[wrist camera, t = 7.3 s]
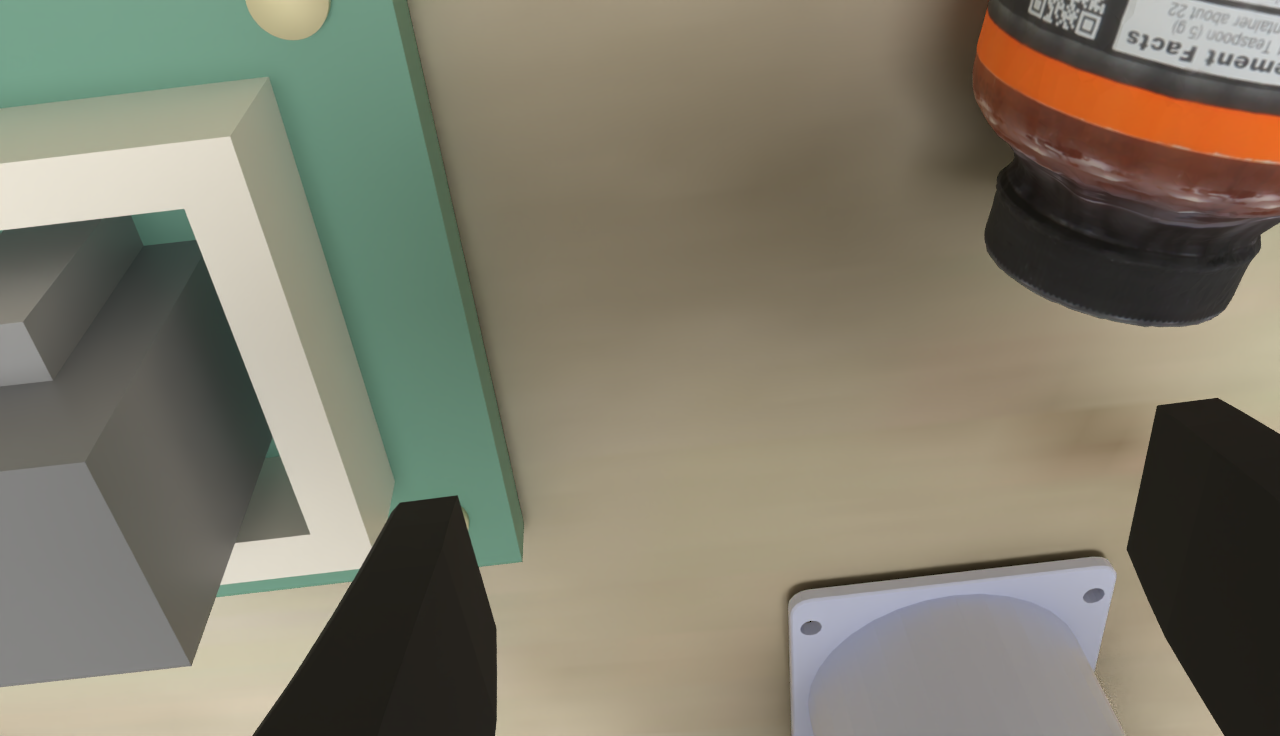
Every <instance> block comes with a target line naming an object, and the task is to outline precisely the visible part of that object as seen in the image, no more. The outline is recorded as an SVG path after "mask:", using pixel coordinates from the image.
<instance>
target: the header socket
mask: <svg viewBox="0 0 1280 736" xmlns="http://www.w3.org/2000/svg"><path fill="white" fill-rule="evenodd" d="M178 209H184V210H185V212H186V215H187V217H188V220H189V222H190V225H191V228H192V230H193V233H194V235H195V238H196V240H197V243H198V246H199V248H200V251H201V253H202V256H203V258H204V261H205V264H206V266H207V269H208V271H209V274H210V277H211V279H212V282H213V284H214V287H215V289H216V292H217V295H218V297H219V300H220V302H221V305H222V307H223V310H224V313H225V315H226V318H227V320H228V323H229V325H230V328H231V331H232V333H233V336H234V338H235V341H236V343H237V346H238V349H239V351H240V354H241V356H242V359H243V362H244V364H245V367H246V369H247V372H248V374H249V377H250V380H251V382H252V385H253V387H254V390H255V392H256V395H257V398H258V400H259V403H260V405H261V408H262V410H263V413H264V416H265V418H266V421H267V423H268V426H269V429H270V431H271V434H272V436H273V439H274V441H275V444H276V447H277V449H278V452H279V454H280V457H271V458H265V460H264V463H263V466H262V468H261V471H260V474H259V477H258V480H257V483H256V485H255V488H254V491H253V494H252V497H251V499H250V502H249V505H248V508H247V511H246V514H245V516H244V519H243V522H242V525H241V528H240V530H239V533H238V536H237V539H236V542H235V545H234V547H233V550H232V553H231V556H230V559H229V561H228V564H227V567H226V570H225V573H224V576H223V578H222V581H221V584H220V585H224V584H233V583H242V582H250V581H259V580H268V579H276V578H285V577H294V576H302V575H311V574H320V573H328V572H337V571H345V570H354V569H360V568H361V566H362V564H363V562H364V561H365V559H366V557H367V555H368V554H369V552H370V550H371V548H372V546H373V545H374V543H375V541H376V539H377V537H378V536H379V534H380V532H381V530H382V528H383V527H384V525H385V523H386V521H387V519H388V515H389V510H390V504H391V499H392V494H393V489H394V484H395V481H394V477H393V474H392V471H391V468H390V464H389V461H388V458H387V455H386V452H385V448H384V445H383V442H382V439H381V436H380V432H379V429H378V426H377V423H376V420H375V416H374V413H373V410H372V407H371V403H370V400H369V397H368V394H367V391H366V387H365V384H364V381H363V378H362V375H361V371H360V368H359V365H358V362H357V359H356V355H355V352H354V349H353V346H352V342H351V339H350V336H349V333H348V330H347V326H346V323H345V320H344V317H343V314H342V310H341V307H340V304H339V301H338V298H337V294H336V291H335V288H334V285H333V281H332V278H331V275H330V272H329V269H328V265H327V262H326V259H325V256H324V253H323V249H322V246H321V243H320V240H319V237H318V233H317V230H316V227H315V224H314V220H313V217H312V214H311V211H310V208H309V204H308V201H307V198H306V195H305V192H304V188H303V185H302V182H301V179H300V176H299V172H298V169H297V166H296V163H295V159H294V156H293V153H292V150H291V147H290V143H289V140H288V137H287V134H286V131H285V127H284V124H283V121H282V118H281V115H280V111H279V108H278V105H277V102H276V98H275V95H274V92H273V89H272V86H271V82H270V79H269V77H261V78H253V79H244V80H236V81H228V82H219V83H211V84H202V85H194V86H186V87H177V88H169V89H160V90H152V91H144V92H135V93H127V94H118V95H110V96H101V97H93V98H85V99H76V100H68V101H59V102H51V103H43V104H34V105H26V106H17V107H9V108H1V109H0V230H9V229H17V228H26V227H34V226H43V225H51V224H59V223H68V222H76V221H85V220H93V219H102V218H110V217H119V216H127V215H136V214H144V213H153V212H161V211H170V210H178Z"/></svg>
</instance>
